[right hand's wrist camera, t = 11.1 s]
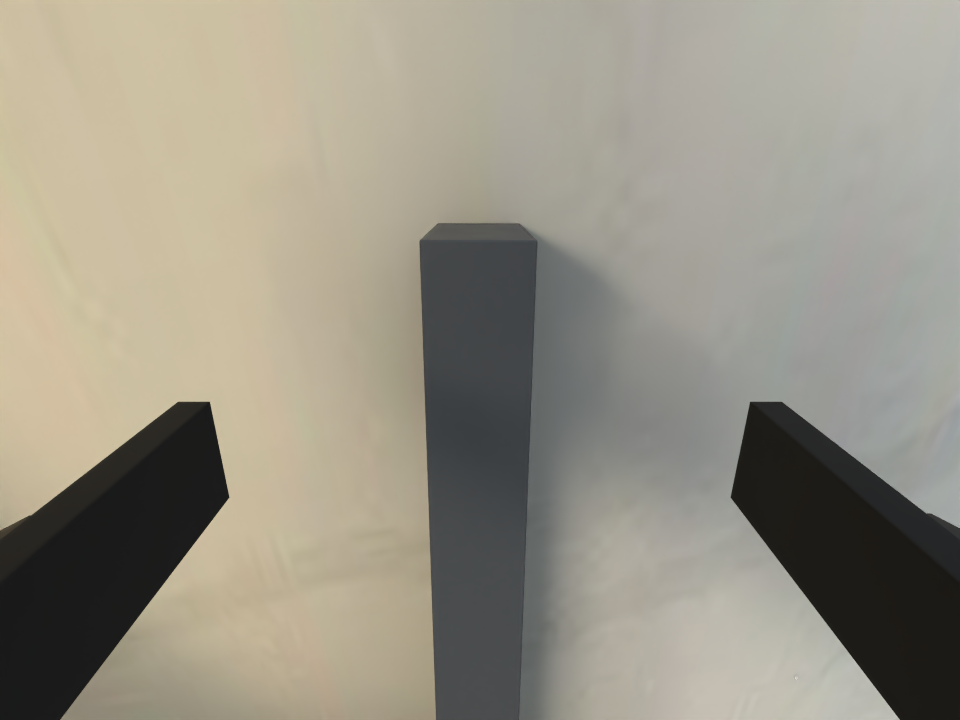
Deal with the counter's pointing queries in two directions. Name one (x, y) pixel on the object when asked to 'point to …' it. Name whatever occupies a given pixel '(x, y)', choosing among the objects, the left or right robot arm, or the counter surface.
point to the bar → (477, 458)
